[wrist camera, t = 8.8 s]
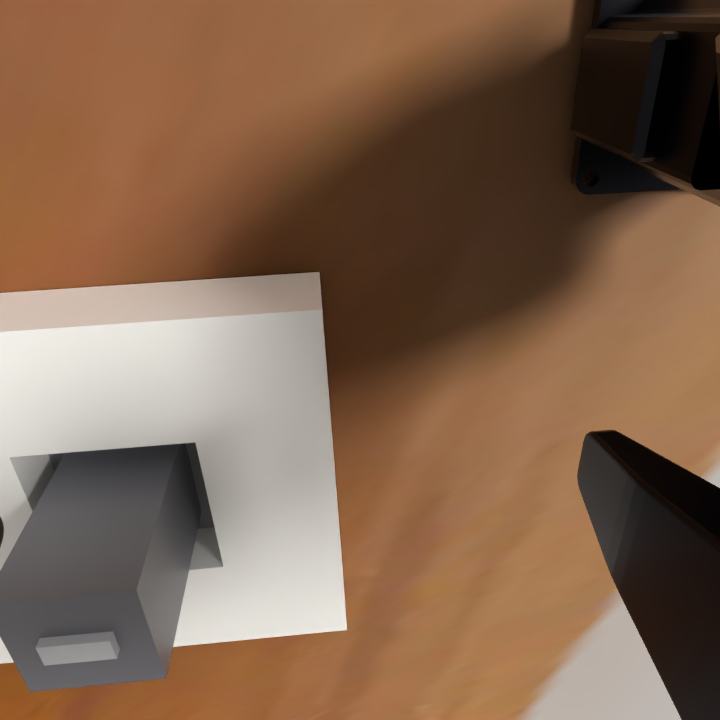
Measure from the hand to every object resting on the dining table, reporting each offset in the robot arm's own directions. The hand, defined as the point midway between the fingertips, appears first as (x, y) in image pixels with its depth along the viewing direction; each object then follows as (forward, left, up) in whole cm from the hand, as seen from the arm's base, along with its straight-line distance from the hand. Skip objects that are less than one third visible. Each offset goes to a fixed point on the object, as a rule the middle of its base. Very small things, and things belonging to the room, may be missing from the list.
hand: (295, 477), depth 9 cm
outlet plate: (+7, +9, -12) cm, 17 cm away
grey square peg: (+7, +9, -11) cm, 16 cm away
